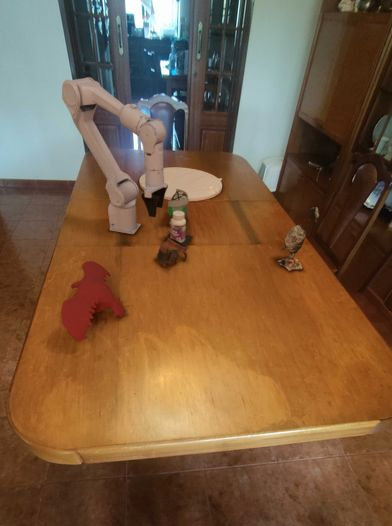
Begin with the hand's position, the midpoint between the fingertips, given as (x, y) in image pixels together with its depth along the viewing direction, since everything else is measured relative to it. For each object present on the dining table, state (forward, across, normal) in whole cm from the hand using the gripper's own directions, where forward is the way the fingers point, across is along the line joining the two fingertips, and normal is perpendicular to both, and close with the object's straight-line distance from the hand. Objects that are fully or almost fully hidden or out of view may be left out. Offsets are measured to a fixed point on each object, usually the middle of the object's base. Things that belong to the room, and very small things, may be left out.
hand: (155, 211), depth 108 cm
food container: (+10, +15, -5) cm, 18 cm away
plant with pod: (+10, -2, -48) cm, 49 cm away
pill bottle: (+9, +1, -8) cm, 12 cm away
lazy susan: (+9, +53, +4) cm, 54 cm away
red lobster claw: (+10, -44, +1) cm, 45 cm away
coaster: (+10, +1, -8) cm, 12 cm away
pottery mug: (+10, -14, -10) cm, 19 cm away
